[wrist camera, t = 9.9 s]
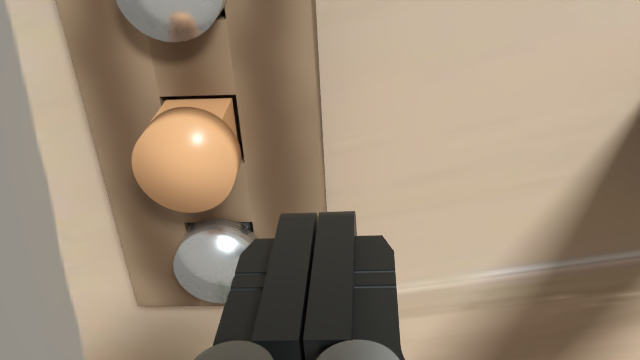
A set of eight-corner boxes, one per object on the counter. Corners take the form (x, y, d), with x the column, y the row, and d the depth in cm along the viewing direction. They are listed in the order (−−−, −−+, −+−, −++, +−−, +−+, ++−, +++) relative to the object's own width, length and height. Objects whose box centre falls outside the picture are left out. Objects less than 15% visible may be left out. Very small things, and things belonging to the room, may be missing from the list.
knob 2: (264, 193, 42) (253, 235, 37) (272, 257, 44) (262, 303, 40) (185, 194, 42) (166, 236, 38) (198, 258, 45) (181, 303, 40)
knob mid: (243, 84, 35) (227, 120, 31) (254, 168, 38) (240, 212, 33) (150, 87, 35) (121, 123, 31) (167, 170, 38) (142, 213, 34)
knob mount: (308, -139, 32) (302, -135, 29) (330, 273, 46) (328, 305, 43) (55, -124, 33) (23, -120, 30) (152, 274, 47) (137, 305, 44)
